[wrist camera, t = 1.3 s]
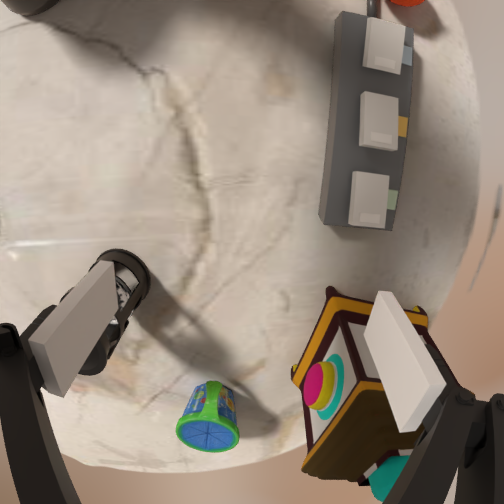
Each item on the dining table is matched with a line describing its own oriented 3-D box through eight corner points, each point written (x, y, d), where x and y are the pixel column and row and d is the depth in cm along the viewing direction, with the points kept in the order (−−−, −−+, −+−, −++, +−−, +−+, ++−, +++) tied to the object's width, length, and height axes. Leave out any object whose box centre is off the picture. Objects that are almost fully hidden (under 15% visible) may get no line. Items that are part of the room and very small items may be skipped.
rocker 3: (352, 171, 35) (357, 171, 33) (384, 176, 35) (389, 175, 33) (348, 223, 36) (352, 225, 35) (379, 226, 36) (385, 228, 35)
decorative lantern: (279, 371, 53) (286, 537, 26) (320, 272, 45) (377, 464, 18) (379, 385, 55) (421, 523, 27) (430, 299, 47) (524, 442, 19)
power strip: (335, -18, 29) (343, -31, 25) (400, -3, 29) (413, -12, 25) (318, 214, 42) (324, 225, 38) (381, 220, 42) (392, 231, 38)
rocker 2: (360, 94, 31) (365, 90, 30) (392, 101, 31) (398, 97, 30) (358, 145, 33) (363, 144, 31) (391, 151, 33) (398, 149, 31)
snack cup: (191, 358, 52) (180, 403, 43) (252, 372, 53) (250, 418, 44) (180, 411, 58) (171, 451, 49) (232, 422, 59) (228, 463, 50)
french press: (88, 244, 44) (-5, 335, 23) (144, 243, 44) (64, 347, 23) (105, 311, 49) (39, 414, 28) (157, 313, 49) (105, 430, 28)
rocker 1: (367, 18, 27) (372, 16, 25) (400, 26, 27) (406, 26, 25) (362, 66, 30) (366, 67, 29) (394, 73, 30) (400, 74, 29)
